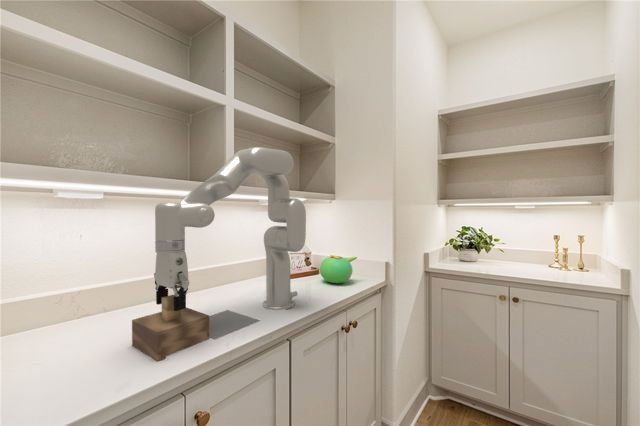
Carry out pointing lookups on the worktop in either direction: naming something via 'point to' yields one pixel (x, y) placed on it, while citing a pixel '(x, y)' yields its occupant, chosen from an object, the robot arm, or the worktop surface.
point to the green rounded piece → (336, 269)
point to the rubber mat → (228, 323)
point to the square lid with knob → (169, 330)
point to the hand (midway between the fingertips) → (170, 306)
